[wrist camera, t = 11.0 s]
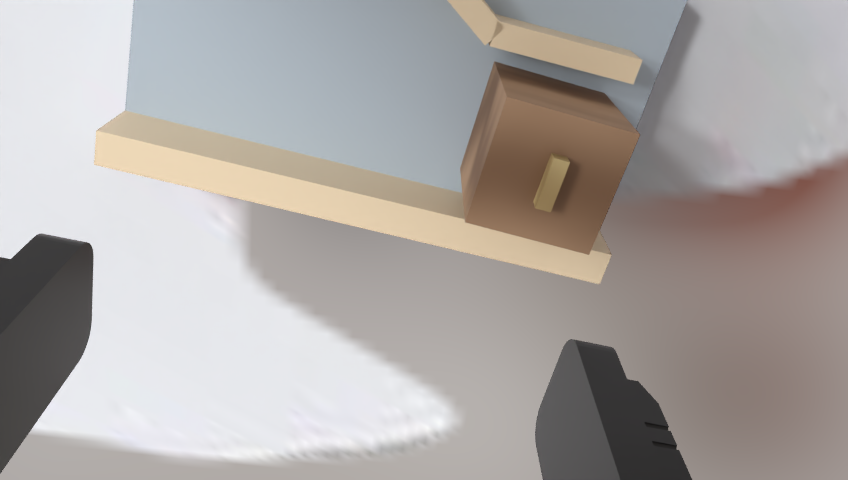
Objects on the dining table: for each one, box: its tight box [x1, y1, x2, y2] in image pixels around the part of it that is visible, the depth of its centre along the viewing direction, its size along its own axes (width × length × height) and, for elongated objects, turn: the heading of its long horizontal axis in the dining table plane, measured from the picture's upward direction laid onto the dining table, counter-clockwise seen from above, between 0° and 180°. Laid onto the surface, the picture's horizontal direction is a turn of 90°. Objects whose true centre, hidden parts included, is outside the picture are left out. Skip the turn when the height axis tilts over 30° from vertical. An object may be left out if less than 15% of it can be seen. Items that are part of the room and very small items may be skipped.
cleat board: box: [94, 0, 687, 284], centre depth 30 cm, size 12×22×4 cm, turn 76°
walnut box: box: [460, 61, 640, 255], centre depth 29 cm, size 5×5×7 cm
